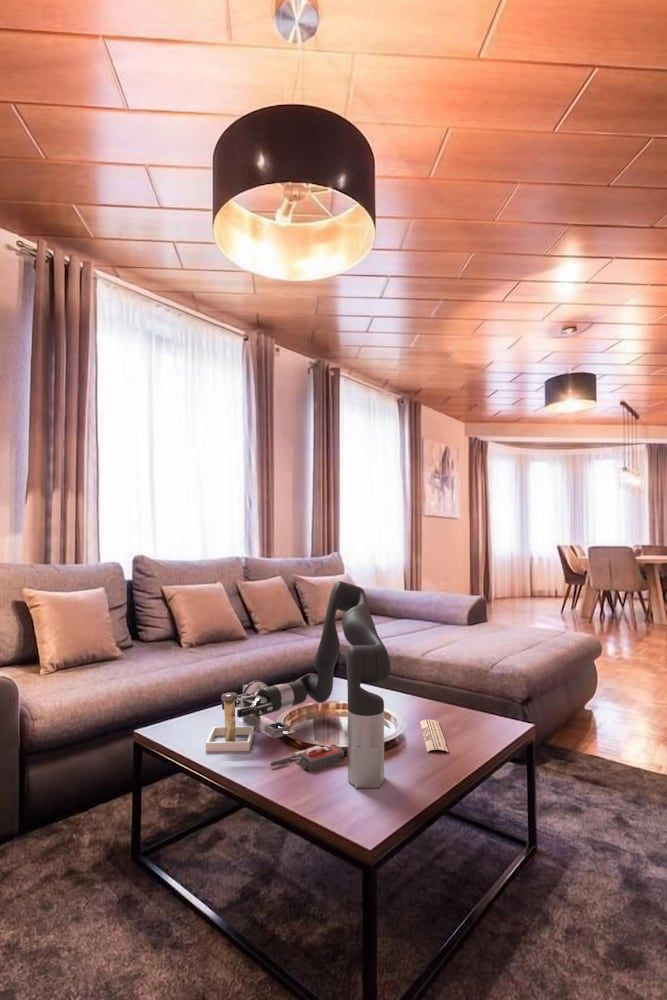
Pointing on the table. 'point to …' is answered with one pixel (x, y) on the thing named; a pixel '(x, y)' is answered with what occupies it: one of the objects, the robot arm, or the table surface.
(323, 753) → the walkie-talkie
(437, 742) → the newspaper
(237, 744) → the parts tray
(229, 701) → the lock pin
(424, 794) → the table surface
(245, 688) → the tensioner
